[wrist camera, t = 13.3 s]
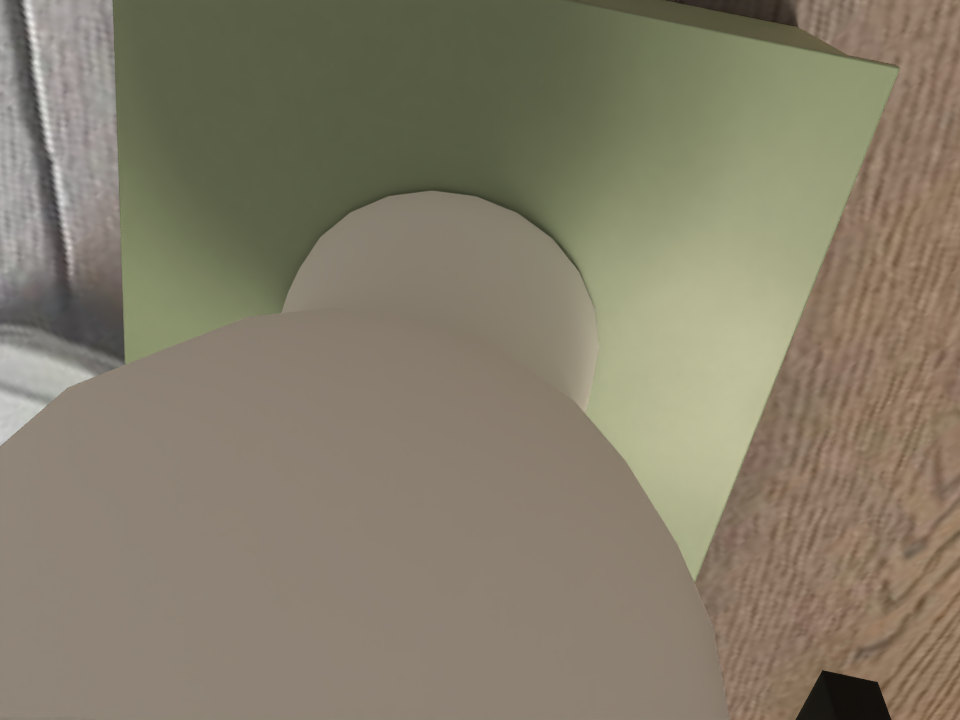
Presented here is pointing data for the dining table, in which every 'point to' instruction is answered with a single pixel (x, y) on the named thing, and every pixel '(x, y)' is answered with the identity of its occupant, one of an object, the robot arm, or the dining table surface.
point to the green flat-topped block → (509, 181)
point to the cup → (353, 507)
